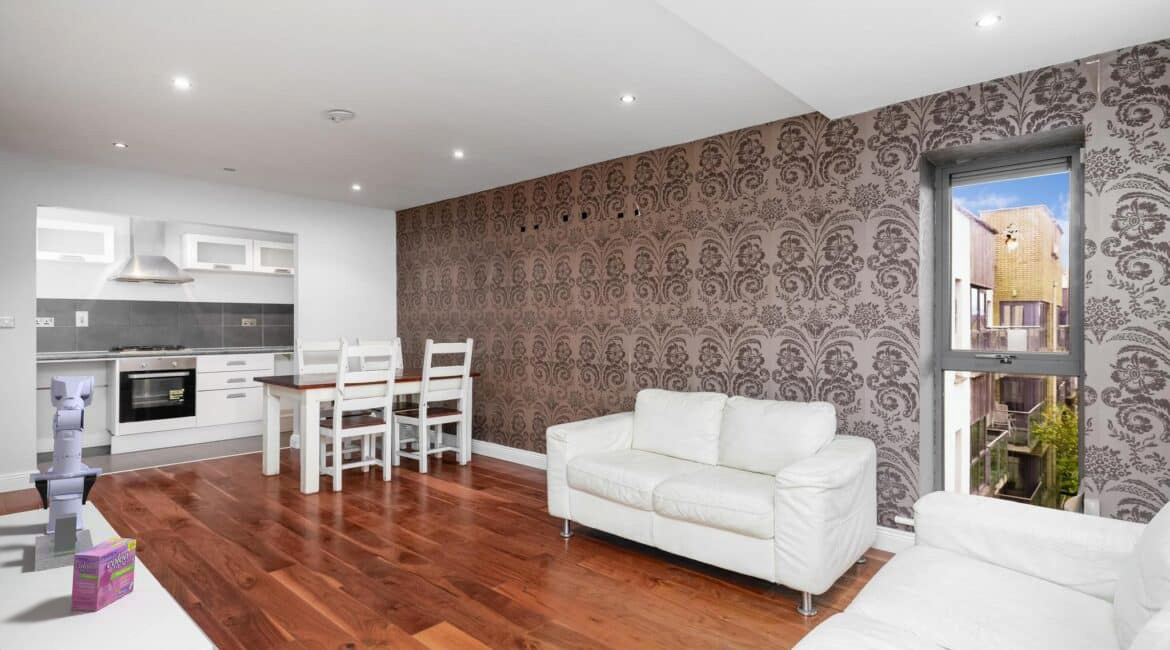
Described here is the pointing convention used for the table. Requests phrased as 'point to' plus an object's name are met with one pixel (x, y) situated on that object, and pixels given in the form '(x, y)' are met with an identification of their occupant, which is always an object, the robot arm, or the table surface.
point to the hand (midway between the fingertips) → (64, 506)
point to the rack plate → (51, 559)
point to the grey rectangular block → (65, 531)
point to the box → (103, 574)
